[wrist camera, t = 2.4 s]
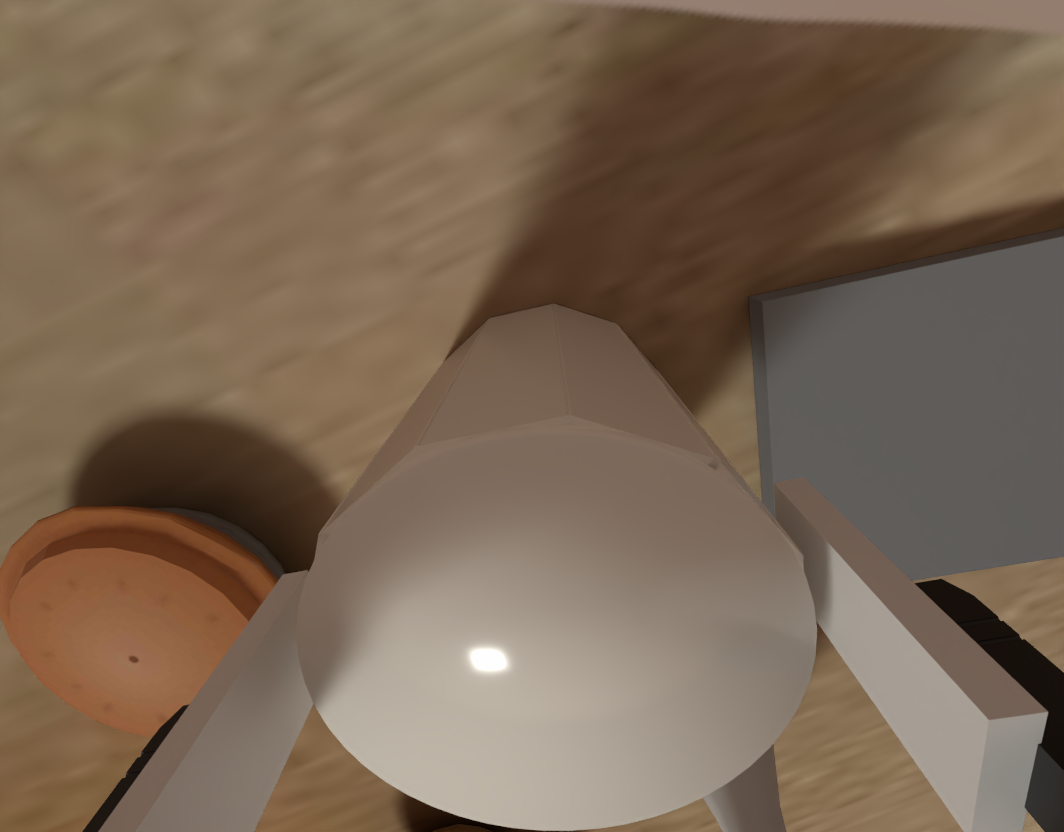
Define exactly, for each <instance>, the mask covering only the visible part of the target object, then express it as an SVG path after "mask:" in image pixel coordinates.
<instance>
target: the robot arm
mask: <svg viewBox="0 0 1064 832" xmlns="http://www.w3.org/2000/svg"><path fill="white" fill-rule="evenodd" d="M774 498H775V516H776V521H777V522H778V523H779V525H780V526H781V527H782V528H783V530H784V531H785V532H786V533H787V535H788V536H789V537H790V538H791V540H792V541H793V542H794V544H795V545H796V546H797V547H798V549H799V550H800V551H801V552H802V554H803V557H804V559H803V565H804V573H805V575H806V578H807V582H808V585H809V588H810V591H811V595H812V598H813V601H814V607H815V616H816V621H817V623H818V624H819V625H820V627H821V628H822V630H823V631H824V633H825V634H826V635H827V637H828V638H829V640H830V641H831V643H832V644H833V645H834V647H835V648H836V650H837V651H838V653H839V654H840V655H841V657H842V658H843V660H844V661H845V663H846V664H847V665H848V667H849V668H850V670H851V671H852V673H853V674H854V675H855V677H856V678H857V680H858V681H859V683H860V684H861V685H862V687H863V688H864V690H865V691H866V693H867V694H868V695H869V697H870V698H871V700H872V701H873V703H874V704H875V705H876V707H877V708H878V710H879V711H880V713H881V714H882V715H883V717H884V718H885V720H886V721H887V723H888V724H889V725H890V727H891V728H892V730H893V731H894V733H895V734H896V735H897V737H898V738H899V740H900V741H901V743H902V744H903V745H904V747H905V748H906V750H907V751H908V753H909V754H910V755H911V757H912V758H913V760H914V761H915V763H916V764H917V765H918V767H919V768H920V770H921V771H922V773H923V774H924V775H925V777H926V778H927V780H928V781H929V783H930V784H931V785H932V787H933V788H934V790H935V791H936V793H937V794H938V795H939V797H940V798H941V800H942V801H943V803H944V804H945V805H946V807H947V808H948V810H949V811H950V813H951V814H952V815H953V817H954V818H955V820H956V821H957V823H958V824H959V825H960V827H961V828H962V830H963V831H964V832H1022V830H1023V825H1024V820H1025V816H1026V811H1028V812H1029V813H1030V814H1031V816H1032V817H1033V818H1034V819H1035V820H1036V822H1037V823H1038V824H1039V825H1040V826H1041V828H1042V829H1043V830H1044V831H1045V832H1064V673H1063V672H1062V671H1061V670H1060V669H1059V668H1058V667H1056V666H1055V665H1054V664H1053V663H1052V662H1050V661H1049V660H1048V659H1047V658H1046V657H1045V656H1043V655H1042V654H1041V653H1040V652H1039V651H1038V650H1036V649H1035V648H1034V647H1033V646H1032V645H1031V644H1029V643H1028V642H1027V641H1026V640H1025V639H1024V640H1022V639H1021V638H1020V636H1019V634H1018V633H1017V632H1015V631H1014V630H1013V629H1012V628H1011V627H1010V626H1008V625H1007V624H1006V623H1005V622H1004V621H1000V620H999V618H998V616H997V615H996V614H994V613H993V612H992V611H991V610H990V609H989V608H987V607H986V606H985V605H984V604H983V603H982V602H980V601H979V600H978V599H977V598H976V597H975V596H973V595H972V594H970V593H968V592H966V591H964V590H962V589H960V588H958V587H956V586H954V585H952V584H950V583H948V582H946V581H944V580H942V579H938V580H932V581H926V582H920V583H913V582H912V581H911V580H910V579H909V578H908V577H907V576H906V575H905V574H904V573H903V572H902V571H901V570H900V569H899V568H898V567H897V566H896V565H895V564H893V563H892V562H891V561H890V560H889V559H888V558H887V557H886V556H885V555H884V554H883V553H882V552H881V551H880V550H879V549H878V548H877V547H876V546H875V545H874V544H873V543H872V542H871V541H869V540H868V539H867V538H866V537H865V536H864V535H863V534H862V533H861V532H860V531H859V530H858V529H857V528H856V527H855V526H854V525H853V524H852V523H851V522H850V521H849V520H848V519H847V518H846V517H844V516H843V515H842V514H841V513H840V512H839V511H838V510H837V509H836V508H835V507H834V506H833V505H832V504H831V503H830V502H829V501H828V500H827V499H826V498H825V497H824V496H823V495H822V494H820V493H819V492H818V491H817V490H816V489H815V488H814V487H813V486H812V485H811V484H810V483H809V482H808V481H807V480H806V479H805V478H804V477H802V478H797V479H791V480H786V481H781V482H775V483H774ZM308 573H309V572H308V570H305V571H300V572H294V573H289V574H284V575H282V576H281V578H280V579H279V581H278V582H277V583H276V585H275V586H274V588H273V589H272V590H271V592H270V593H269V594H268V596H267V597H266V599H265V600H264V601H263V603H262V604H261V606H260V607H259V608H258V610H257V611H256V613H255V614H254V615H253V617H252V618H251V620H250V621H249V622H248V624H247V625H246V627H245V628H244V629H243V631H242V632H241V633H240V635H239V636H238V638H237V639H236V640H235V642H234V643H233V645H232V646H231V647H230V649H229V650H228V652H227V653H226V654H225V656H224V657H223V659H222V660H221V661H220V663H219V664H218V665H217V667H216V668H215V670H214V671H213V672H212V674H211V675H210V677H209V678H208V679H207V681H206V682H205V684H204V685H203V686H202V688H201V689H200V691H199V692H198V693H197V695H196V696H195V698H194V699H193V700H192V702H191V703H190V704H189V705H183V706H182V707H181V708H180V709H179V710H178V711H177V712H176V713H175V714H174V715H173V716H172V717H171V718H170V719H169V720H168V721H166V722H165V723H164V724H163V725H162V726H161V727H160V728H159V729H158V731H157V732H156V734H155V735H154V736H153V738H152V739H151V740H150V742H149V743H148V744H147V746H146V747H145V748H144V750H143V751H142V752H141V757H138V758H137V759H136V760H135V762H134V763H133V764H132V766H131V767H130V768H129V770H128V771H127V773H126V777H125V778H122V779H121V781H120V782H119V783H118V785H117V786H116V787H115V789H114V790H113V791H112V793H111V794H110V795H109V797H108V798H107V799H106V801H105V802H104V803H103V805H102V806H101V807H100V809H99V810H98V811H97V813H96V814H95V816H94V817H93V818H92V820H91V821H90V822H89V824H88V825H87V826H86V828H85V829H84V830H83V832H254V831H255V829H256V826H257V824H258V822H259V820H260V818H261V816H262V813H263V811H264V809H265V807H266V805H267V803H268V800H269V798H270V796H271V794H272V792H273V790H274V788H275V785H276V783H277V781H278V779H279V777H280V775H281V772H282V770H283V768H284V766H285V764H286V762H287V759H288V757H289V755H290V753H291V751H292V749H293V746H294V744H295V742H296V740H297V738H298V736H299V733H300V731H301V729H302V727H303V725H304V723H305V721H306V718H307V716H308V714H309V712H310V710H311V708H312V705H313V701H312V699H311V696H310V694H309V692H308V689H307V687H306V685H305V682H304V678H303V675H302V671H301V667H300V663H299V659H298V650H297V639H296V626H297V614H298V605H299V601H300V598H301V594H302V590H303V586H304V582H305V579H306V577H307V575H308Z"/></svg>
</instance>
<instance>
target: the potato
mask: <svg viewBox="0 0 1064 832" xmlns="http://www.w3.org/2000/svg"><path fill="white" fill-rule="evenodd" d="M433 832H493V831H490V830H487V829H485V828H482V827H479V826H471V825H463V824H457V825H453V826H449V827H445V828H441V829H437V830H435V831H433Z"/></svg>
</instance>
